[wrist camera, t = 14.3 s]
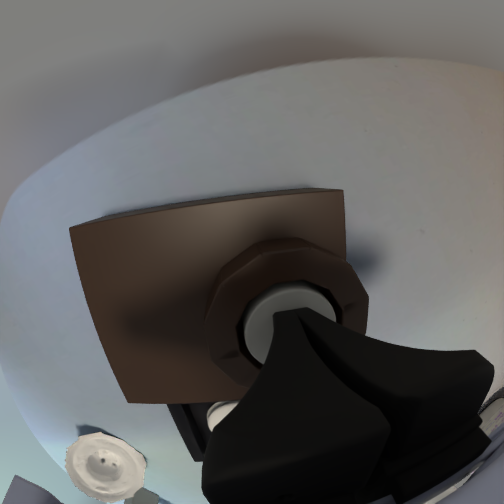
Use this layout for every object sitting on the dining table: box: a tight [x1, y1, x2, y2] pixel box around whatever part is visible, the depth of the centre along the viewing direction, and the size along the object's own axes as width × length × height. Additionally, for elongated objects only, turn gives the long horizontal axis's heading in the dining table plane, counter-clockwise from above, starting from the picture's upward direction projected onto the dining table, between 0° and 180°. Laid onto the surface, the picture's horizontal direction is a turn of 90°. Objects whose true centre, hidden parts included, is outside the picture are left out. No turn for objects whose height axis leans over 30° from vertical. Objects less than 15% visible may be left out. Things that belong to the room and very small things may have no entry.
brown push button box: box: [69, 188, 369, 404], centre depth 13 cm, size 10×12×6 cm
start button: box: [242, 280, 336, 364], centre depth 11 cm, size 4×4×2 cm
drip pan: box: [167, 399, 241, 462], centre depth 17 cm, size 10×10×2 cm
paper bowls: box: [470, 398, 504, 475], centre depth 22 cm, size 15×15×8 cm
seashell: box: [65, 432, 147, 503], centre depth 17 cm, size 8×5×8 cm
